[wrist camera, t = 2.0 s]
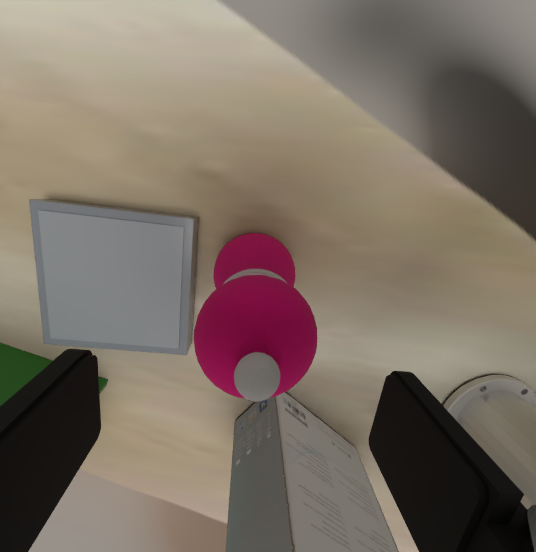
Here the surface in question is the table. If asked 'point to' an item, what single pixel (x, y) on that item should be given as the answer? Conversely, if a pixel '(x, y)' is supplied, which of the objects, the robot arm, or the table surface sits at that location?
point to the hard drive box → (299, 486)
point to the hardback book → (22, 370)
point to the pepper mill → (255, 321)
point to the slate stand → (115, 276)
